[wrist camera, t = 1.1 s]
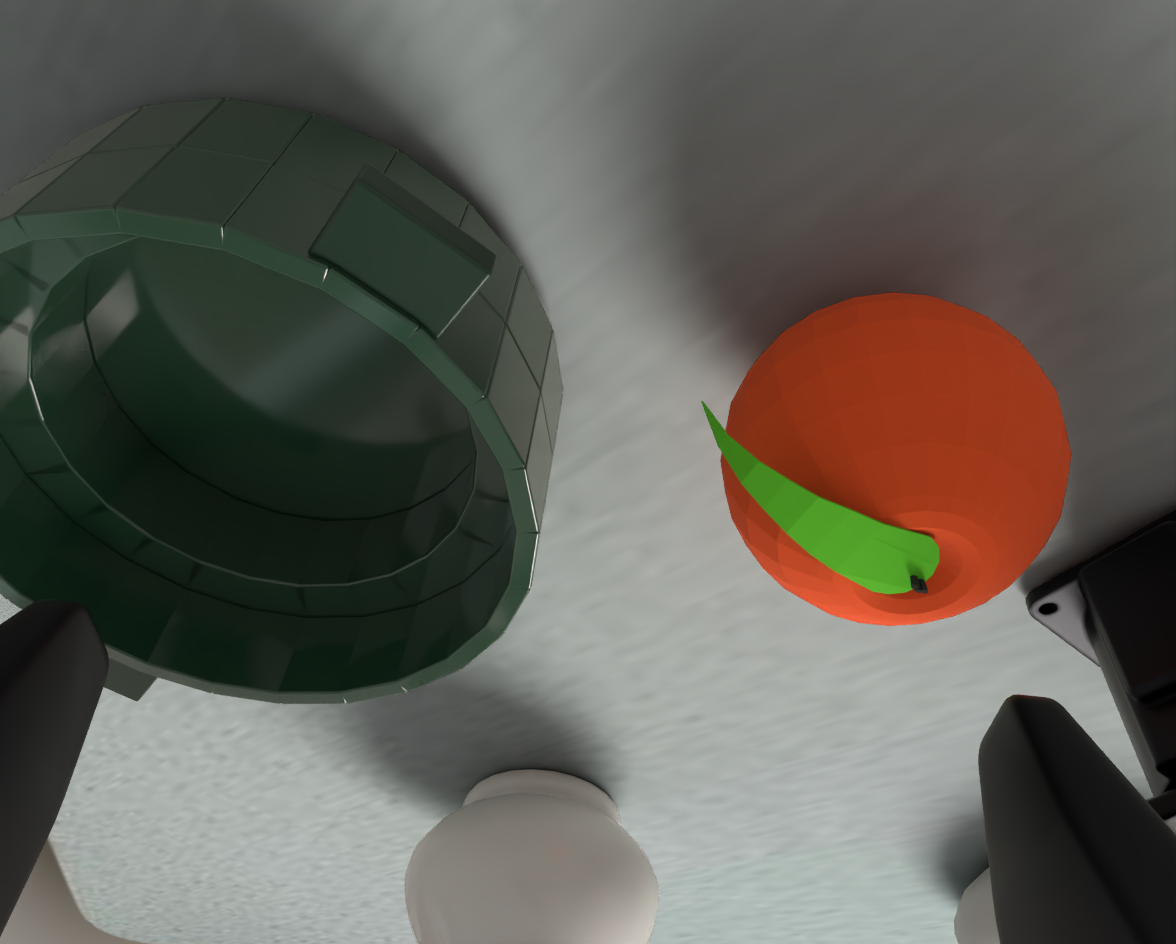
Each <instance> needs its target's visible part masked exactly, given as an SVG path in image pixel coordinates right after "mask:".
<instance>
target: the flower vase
mask: <svg viewBox="0 0 1176 944" xmlns="http://www.w3.org/2000/svg"><path fill="white" fill-rule="evenodd" d="M659 900H660V890H659V886H658V882H657V879H656V876H655V874H654V871H653V868H652V866H651V863H650V861H649V859H648V857H647V856H646V854H645V853H644V851H643V850H642V848H641V847H640V846H639V845H638V843H637V842H636V841H635V840H634V839H633V838H632V837H631V836H630V835H629V833H628V832H627V831H626V830H625V829H624V828H623V827H622V826H621V818H620V815H619V812H618V810H617V807H616V805H615V803H614V802H613V801H612V800H611V799H610V798H609V796H608V795H607V794H606V793H605V792H603V791H602V790H600V789H599V788H597V787H596V786H594V785H593V784H591V783H589V782H587V781H584V780H582V779H580V778H577V777H575V776H572V775H568V774H563V773H559V772H555V771H547V770H536V769H527V770H512V771H507V772H503V773H499V774H495V775H493V776H491V777H488V778H486V779H484V780H482V781H480V782H479V783H478V784H476V785H475V786H474V787H473V788H472V789H471V790H470V791H469V792H468V794H467V796H466V799H465V801H464V803H463V806H462V807H461V808H459V809H457V810H455V811H453V812H451V813H450V814H448V815H447V816H446V817H444V818H443V819H442V820H441V821H440V822H439V823H438V824H437V825H435V826H434V827H433V828H432V829H431V830H430V831H429V832H428V833H427V834H426V835H425V836H424V837H423V838H422V839H421V840H420V841H419V843H418V844H417V846H416V847H415V849H414V851H413V854H412V856H411V859H410V861H409V864H408V867H407V870H406V874H405V901H406V907H407V912H408V917H409V922H410V926H411V929H412V932H413V934H414V937H415V939H416V941H417V943H418V944H648V943H649V941H650V939H651V936H652V933H653V929H654V926H655V922H656V917H657V912H658V906H659Z"/></svg>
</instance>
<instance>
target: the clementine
mask: <svg viewBox="0 0 1176 944" xmlns="http://www.w3.org/2000/svg"><path fill="white" fill-rule="evenodd" d="M701 402H702V405H703V407H704V410H705V413H706V415H707V418H708V421H709V423H710V426H711V429H712V431H713V434H714V436H715V439H716V442H717V444H718V447H719V448H720V450H721V451H722V455H721V467H722V474H723V480H724V487H725V493H726V497H727V501H728V505H729V509H730V513H731V517H732V520H733V522H734V524H735V525H736V527H737V529H738V531H739V533H740V535H741V536H742V538H743V540H744V542H745V544H746V546H747V547H748V548H749V550H750V551H751V552H752V554H753V555H754V557H755V558H756V559H757V561H758V562H759V563H760V565H761V566H762V567H763V569H764V570H766V571H767V572H768V573H769V574H770V575H771V576H772V577H773V578H774V579H775V580H776V581H777V582H778V583H779V584H780V585H781V586H782V587H783V588H785V589H786V590H788V591H790V592H791V593H793V594H795V595H797V596H798V597H800V598H802V599H804V600H805V601H807V602H809V603H811V604H812V605H814V606H816V607H818V608H820V609H822V610H823V611H825V612H827V613H829V614H831V615H834V616H837V617H841V618H844V619H848V620H851V621H855V622H858V623H866V624H877V625H887V626H894V625H909V624H922V623H927V622H931V621H935V620H939V619H944V618H948V617H952V616H955V615H958V614H960V613H962V612H965V611H967V610H970V609H972V608H974V607H977V606H979V605H982V604H984V603H985V602H987V601H988V600H990V599H991V598H993V597H994V596H996V595H997V594H999V593H1000V592H1002V591H1003V590H1005V589H1006V588H1008V587H1009V586H1010V585H1011V584H1012V583H1013V582H1014V581H1015V580H1016V579H1017V578H1018V577H1019V576H1020V575H1021V574H1022V573H1023V572H1024V571H1025V570H1026V569H1027V568H1028V567H1029V565H1030V564H1031V563H1032V562H1033V560H1034V559H1035V558H1036V556H1037V555H1038V554H1039V553H1040V551H1041V550H1042V549H1043V547H1044V546H1045V545H1046V543H1047V541H1048V539H1049V537H1050V535H1051V534H1052V532H1053V530H1054V528H1055V526H1056V524H1057V522H1058V521H1059V519H1060V517H1061V512H1062V507H1063V502H1064V497H1065V492H1066V486H1067V480H1068V474H1069V468H1070V461H1071V455H1072V454H1071V449H1070V445H1069V441H1068V436H1067V432H1066V428H1065V423H1064V419H1063V415H1062V411H1061V407H1060V403H1059V399H1058V395H1057V391H1056V389H1055V388H1054V387H1053V385H1052V384H1051V382H1050V381H1049V379H1048V378H1047V376H1046V375H1045V374H1044V372H1043V371H1042V369H1041V368H1040V366H1039V365H1038V363H1037V362H1036V361H1035V359H1034V358H1033V357H1032V356H1031V354H1030V353H1029V352H1028V351H1027V350H1026V348H1025V347H1024V346H1023V345H1022V344H1021V342H1020V341H1019V340H1018V339H1017V338H1016V337H1014V336H1013V335H1012V334H1010V333H1009V332H1008V331H1006V330H1005V329H1003V328H1002V327H1001V326H999V325H998V324H996V323H995V322H994V321H992V320H991V319H990V318H988V317H987V316H984V315H982V314H979V313H977V312H975V311H972V310H970V309H967V308H965V307H962V306H959V305H956V304H953V303H950V302H948V301H945V300H942V299H939V298H936V297H933V296H929V295H918V294H906V293H895V292H891V293H883V294H876V295H868V296H861V297H853V298H850V299H848V300H845V301H842V302H839V303H837V304H834V305H831V306H828V307H826V308H823V309H820V310H817V311H815V312H813V313H812V314H810V315H809V316H807V317H806V318H804V319H802V320H801V321H799V322H798V323H796V324H795V325H793V326H791V327H790V328H788V329H787V330H785V331H784V332H783V333H782V334H781V335H780V336H779V337H778V338H777V339H776V340H775V341H774V342H773V343H772V344H771V345H770V346H769V347H768V348H767V349H766V350H765V351H764V352H763V353H762V354H761V355H760V357H759V358H758V359H757V361H756V362H755V363H754V365H753V366H752V367H751V369H750V370H749V371H748V373H747V375H746V377H745V378H744V380H743V382H742V384H741V386H740V387H739V389H738V391H737V393H736V395H735V397H734V398H733V400H732V402H731V405H730V411H729V416H728V421H727V426H726V431H725V430H724V429H723V427H722V426H721V425H720V423H719V422H718V421H717V419H716V418H715V417H714V415H713V414H712V413H711V411H710V410H709V409H708V407H707V406H706V405H705V403H704V402H703V401H701Z"/></svg>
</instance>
